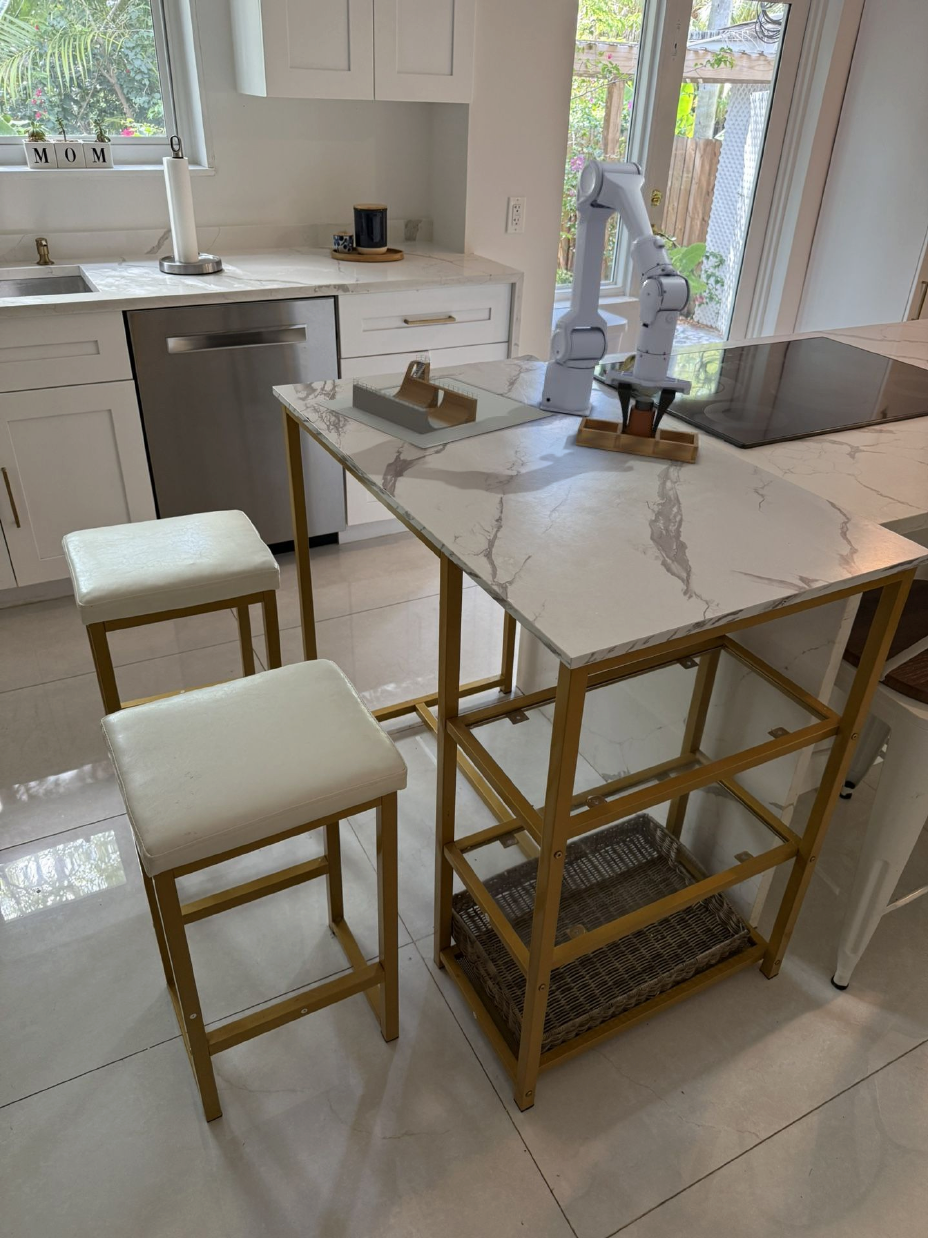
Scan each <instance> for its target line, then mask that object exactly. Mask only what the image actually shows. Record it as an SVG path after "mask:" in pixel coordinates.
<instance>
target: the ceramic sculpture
mask: <svg viewBox="0 0 928 1238" xmlns="http://www.w3.org/2000/svg"><path fill="white" fill-rule="evenodd" d="M635 358H636V353H634V354H633V353H632V354H630V355H628V356H627V357H626V358H625V360H624V361H623V363H622V366H621V367H620V369H618V368H615V369H613V370H614V371H631V372H633V369H634V363H635ZM607 370H608V369H603V370H602V371H603V373H604V375H605V376H606V373H607ZM632 390H637V391H638V393H639V394H640V395H643V396H645V397H651V396H654V395H657V394H659V393H661V390H656V389H649V388H642V387H635V386H633V387H632Z"/></svg>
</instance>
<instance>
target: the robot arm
mask: <svg viewBox="0 0 928 1238" xmlns="http://www.w3.org/2000/svg"><path fill="white" fill-rule="evenodd" d="M645 184H646V178H645V177H644V174H643V170H642V167H641V166H640V164H639V163H637V162H633V161H632V162H621V161H606V160H598V159H595V158H594V159H593V158H592V159H589V160H587V161H586V162H585V164H584V165H583V167H582V168H581V169H580V171H579V172H578V174H577V184H576V195H575V196H576V197H575V210H576V211H577V223H576V231H575V232H576V233H575V244H574V245H575V246H574V258H573V269H572V270H573V271H572V279H571V291H570V292H571V293H570V304H569V306H570V307H569V310H567V312H565V313H564V314H563V315H561V316H560V317H559V318H557V319H556V320H555V327H554V332H553V334H552V337H551V339H550V351H551V354H552V356H553V358H554V360H551V359H550V360H548V361H547V363H546V368H545V373H544V380H543V388H542V392H541V403H540V404H541V405H540V410H542V411H549V412H556V413H563V414H570V415H577V416H582V417H589V416H590V413H591V410H592V408H593V403H592V402H591V396H592V390H593V382H594V379H595V378H594V376H595V371H596V367H597V366H599V365H600V362H601V361H602V360H603V359H604V358H605V357H606V355H607V352H608V349H609V337H608V322H607V320H606V319H605V318H604V317H603V316H602V315H601V313H599V302H600V295H601V294H600V292H601V284H602V283H601V281H602V274H603V273H602V272H603V263H604V261H603V260H604V251H605V241H606V231H607V230H606V229H607V222H608V220H609V219H610V218H611V217H612V216H613V215H614V214H615V213H618V214H619V216H620V219H621V220H622V223H623V225H624V228H625V229H626V232H627V233H628V236H629V237H630V240H631V242H632V244H633V245H632V247H631V249H630V253H629V256H630V258H631V261H632V264H633V267H634V269H635V271H636V274H637V277H638V280H639V282H640V285H641V289H640V290H639V292H638V302H639V303H638V304H639V307H640V312H639V313H640V314H639V319H640V320H639V321H640V322H641V324H640V329H639V336H638V342H637V348H636V352H635V354H636V358H635V363H634V369H633V372H631V371H614V370H615V369H606V370H607V373H606V375H605V380H604V384H606V385H607V384H608V385H612V384H615V385H617V389H616V392H617V396H618V400H619V403H620V408H621V416H622V417H621V419H622V423H623V424H622V428H626V426H627V423H628V420H629V413H630V404H631V399H632V393H633V388H632V387H633V386H635V387H642V388H649V389H656V390H661V391H660V395H659V400H658V404H657V405H658V406H657V409H656V413H655V418H654V424H653V430H652V432H653V433H656V432H657V428H659V425H660V423H661V422H662V419H663V417H664V416H665V414H666V413H667V411H668V409H669V408H670V406H671V405H672V404H673V403H674V401H675V399H676V394H677V393H678V394H682V395H685V396H690V394H691V390H692V386H693V382H692V381H693V380H687V379H686V380H685V379H681V378H676V377H672V376H667V375H668V369H669V365H670V361H671V355H672V350H673V344H674V340H675V334H676V330H677V325H678V319H679V316H680V315H679V314H680V313H682V312H683V311H684V310H685V309H686V308H687V307H688V305H689V302H690V300H691V299H690V298H691V285H690V282H689V279H688V277H686V275H684V274H681V273H680V271H679V270H676V268H675V266H674V264H673V262H672V259H671V255H670V254H669V251H668V249H667V247H666V243H665V240H664V238H663V237H662V236H660V235H657V234H654V231H653V228H652V225H651V222H650V217H649V214H648V210H647V207H646V203H645V200H644V196H643V194H644V190H645V186H646V185H645Z"/></svg>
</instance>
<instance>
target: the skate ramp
mask: <svg viewBox="0 0 928 1238" xmlns="http://www.w3.org/2000/svg"><path fill="white" fill-rule="evenodd" d="M418 356H419V354H418V355H416V358H415V359H414V360H411V361H410V362H409V363H408V365H407V368H406V371H405V374H404V376H403V379H402V383H401V385H400V386H397V387H392V388H386V389H380V388H378V390H377V387H375V386H372V385H370V387H369V386H368V384H366V383H363V382H361V381H360V380H356V379H355V378H354V379H353V384H352V395H350V396H344V397H339V398H334V399H329V400H324V401H319V402H315V404H316V405H319V406H321V407H324V408H326V409H328V410H331V411H333V412H336V413H337V414H340V415H343V416H345V417H348V418H350V419H353V420H355V421H357V422H359V423H362V424H364V425H366V426H369V427H372V428H373V429H376V430H378V431H381V432H383V433H385V434H388V435H390V436H393V437H395V438H397V439H399V440H402V441H405V442H407V443H409V444H412V445H414V446H416V447H419V448H421V449H427V448H431V447H435V446H438V445H443V444H447V443H450V442H454V441H457V440H462V439H465V438H470V437H473V436H478V435H481V434H485V433H489V432H493V431H496V430H500V429H505V428H508V427H513V426H516V425H519V424H524V423H528V422H531V421H535V420H538V419H543V418H546V417H550V416H554V415H555V414H554V413H551V412H548V411H546V410H542V409H541V408H537V407H533V406H531V405H529V404H525V403H522V402H520V401H516V400H513V399H510V398H508V397H504V396H502V395H500V394H496V393H493V392H490V391H488V390H485V389H481V388H479V387H476V386H474V385H470V384H468V383H465V382H461V381H458V380H455V379H452V378H450V377H444V378H439V379H435V378H433V379H432V380H430V379H431V376H430V372H431V357H429V356H426V355H423V354H420V356H419V357H418ZM423 356H424V357H423ZM419 358H420V359H419ZM414 367H415V370H414ZM360 383H361V384H360Z"/></svg>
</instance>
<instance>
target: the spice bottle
mask: <svg viewBox="0 0 928 1238" xmlns="http://www.w3.org/2000/svg"><path fill="white" fill-rule="evenodd" d="M634 400H635V401H634V404H632V405H630V407H629V413H628V421H627V423H628V425H627V431H626V435H632V436H639V437H646V438H651V434H652V429H653V425H654V421H655V417H656V414H657V408H656V407H654V405H655V400H654V399H653V398H650V397H648V396H638V397H635V399H634Z"/></svg>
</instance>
